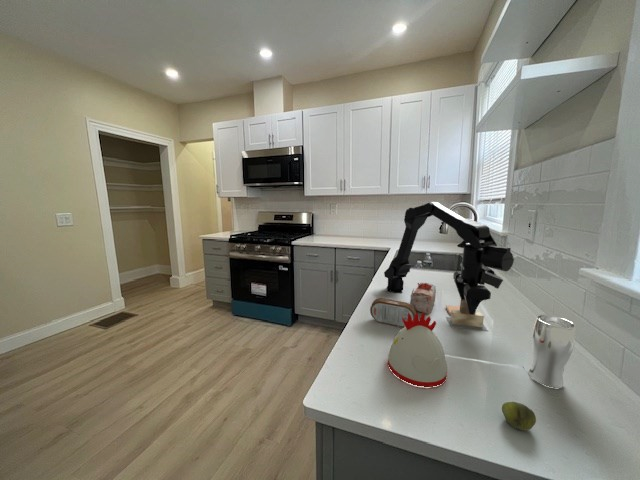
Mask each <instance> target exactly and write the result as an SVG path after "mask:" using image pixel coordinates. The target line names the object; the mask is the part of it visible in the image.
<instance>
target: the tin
mask: <svg viewBox="0 0 640 480" xmlns="http://www.w3.org/2000/svg"><path fill="white" fill-rule="evenodd" d="M369 311H370V315H371V317H372V318H373V320H374V321H376V322H378V323H380V324H384V325H388V324H389V326H393V325H394V326H395V327H397V326H398V328H402V327H405V325H404V322H403V320H402V317H403V319H404V320H405V321H407V318H408V313H409V314H410V315H411V318H412V321H413V320H414V317H415V314H416V312H417V311H416V310H415V309H414V307H413V306H412V305H410V302H409V303H408V302H405V301H401V300H395V299H389V298H383V297H380V298H375V299H374V300H373V301H372V303H371V305H370V309H369Z"/></svg>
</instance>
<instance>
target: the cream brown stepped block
mask: <svg viewBox="0 0 640 480" xmlns="http://www.w3.org/2000/svg"><path fill="white" fill-rule="evenodd" d="M459 306H460V310H452V311H451V315H450V317H451V322H452V324H458V325H466V326H474V327H483V325H484V319H485V316H484V314H483V313H482V312H479V311H478V312H477V310H476V311H475V313H474V314H473V315H472V314H469V311H468V307H467V304H466V300H463V299H461V298H460V303H459Z"/></svg>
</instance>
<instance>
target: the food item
mask: <svg viewBox="0 0 640 480" xmlns="http://www.w3.org/2000/svg"><path fill="white" fill-rule="evenodd" d="M436 291H437V288H436V285H434V284H432V283H429V282H417V287H416V288H413V289H412V290H411V294H410V302H409V304H410V305H412V306H413V307H414V309H415V310H416V312H420V313H422V312H423V313H424V315H430V314H431V312H432V310H433V307H434V304H435V301H436V293H437V292H436Z"/></svg>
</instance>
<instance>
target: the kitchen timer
mask: <svg viewBox="0 0 640 480" xmlns="http://www.w3.org/2000/svg"><path fill="white" fill-rule="evenodd" d="M425 315H426V314H425V313H423V312H421V315H420V318H419V313H418V311H416V314H415V317H414V320H413V321H412V318H411V315H410V314H409V313H408V318H407V321H405V320H404V319H403V317H402V320H403V322H404V325H405V327H404V328H402V327H401V329H400V330H399V331H398V333H397V334H396V335H395V337H394V338H393V340H392V343H391V345H390V347H389V349H388V350H389V351H388V357H387V365H389V366H388V368H389V367H390V369H391V370H392V372H393V373H394V374H395V375H396V376H397V377H399V378H400V379H402V380H404V381H406V382H408V383H411V384H413V385H417V386H424V387H433V386H437V385H440V384H442V383H443V382H444V381H445V380H447V378H446V377H447V376H448V363H447V359H446V355H445V351H444V347H443V345H442V343H441V340H440V339H439V337H438V336H437V335H436V333H435V332H434V331H433V330H434V329H435V328H436V326H437V322H436V320H433V322H431V319H432V318H431V317H430V316H427V317H425ZM430 323H431V324H430ZM390 369H389V370H390ZM392 372H391V373H392ZM393 373H392V374H393ZM397 377H396V378H397ZM445 382H446V381H445ZM445 382H444V383H445ZM444 383H443V384H444ZM443 384H442V385H443Z"/></svg>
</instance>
